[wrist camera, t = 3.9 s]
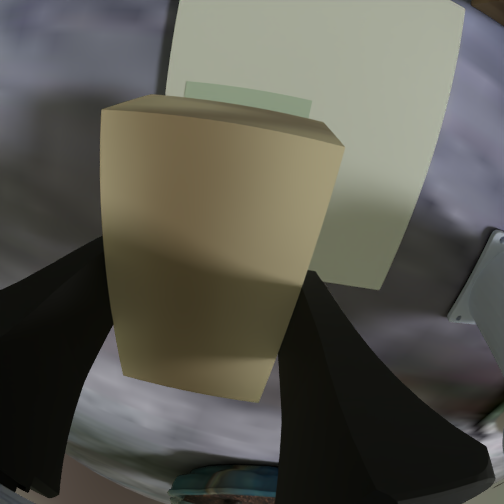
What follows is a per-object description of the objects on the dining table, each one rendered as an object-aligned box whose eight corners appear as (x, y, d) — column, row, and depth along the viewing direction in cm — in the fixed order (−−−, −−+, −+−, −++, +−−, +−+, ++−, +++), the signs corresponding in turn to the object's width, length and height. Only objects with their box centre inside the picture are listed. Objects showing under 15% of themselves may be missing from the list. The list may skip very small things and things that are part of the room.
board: (459, 9, 10) (465, 8, 10) (377, 284, 20) (379, 290, 19) (196, -58, 10) (193, -62, 9) (159, 248, 19) (155, 253, 19)
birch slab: (323, 122, 8) (344, 147, 6) (262, 342, 13) (258, 402, 11) (150, 94, 8) (101, 109, 6) (145, 320, 13) (123, 375, 10)
